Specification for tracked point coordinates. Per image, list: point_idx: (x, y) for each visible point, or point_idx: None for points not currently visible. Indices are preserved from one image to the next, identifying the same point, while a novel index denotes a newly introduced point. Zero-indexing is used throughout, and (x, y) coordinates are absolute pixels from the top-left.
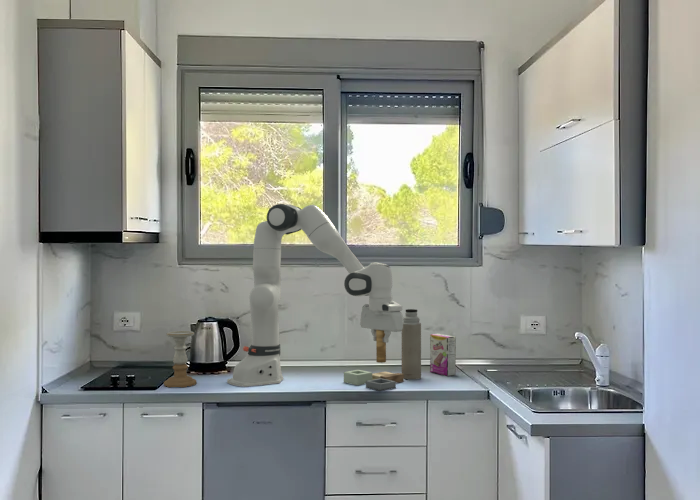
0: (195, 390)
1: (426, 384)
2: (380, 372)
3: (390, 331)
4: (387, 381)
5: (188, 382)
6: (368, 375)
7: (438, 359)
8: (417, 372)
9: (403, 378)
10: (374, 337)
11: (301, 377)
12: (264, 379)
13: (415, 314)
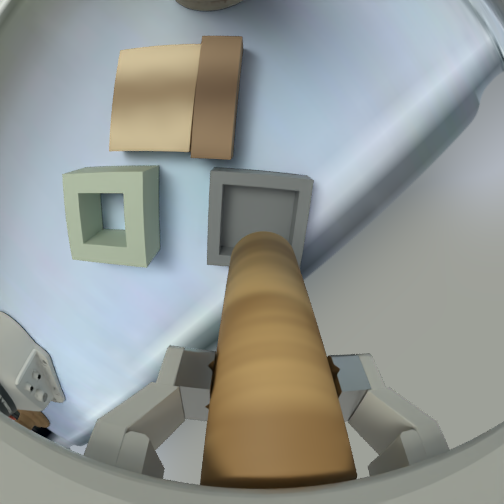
0: (68, 427)
1: (352, 39)
2: (117, 81)
3: (442, 443)
4: (268, 186)
5: (42, 420)
6: (147, 195)
7: None
8: None
9: (242, 45)
10: (184, 409)
11: (6, 279)
12: (42, 374)
13: None
